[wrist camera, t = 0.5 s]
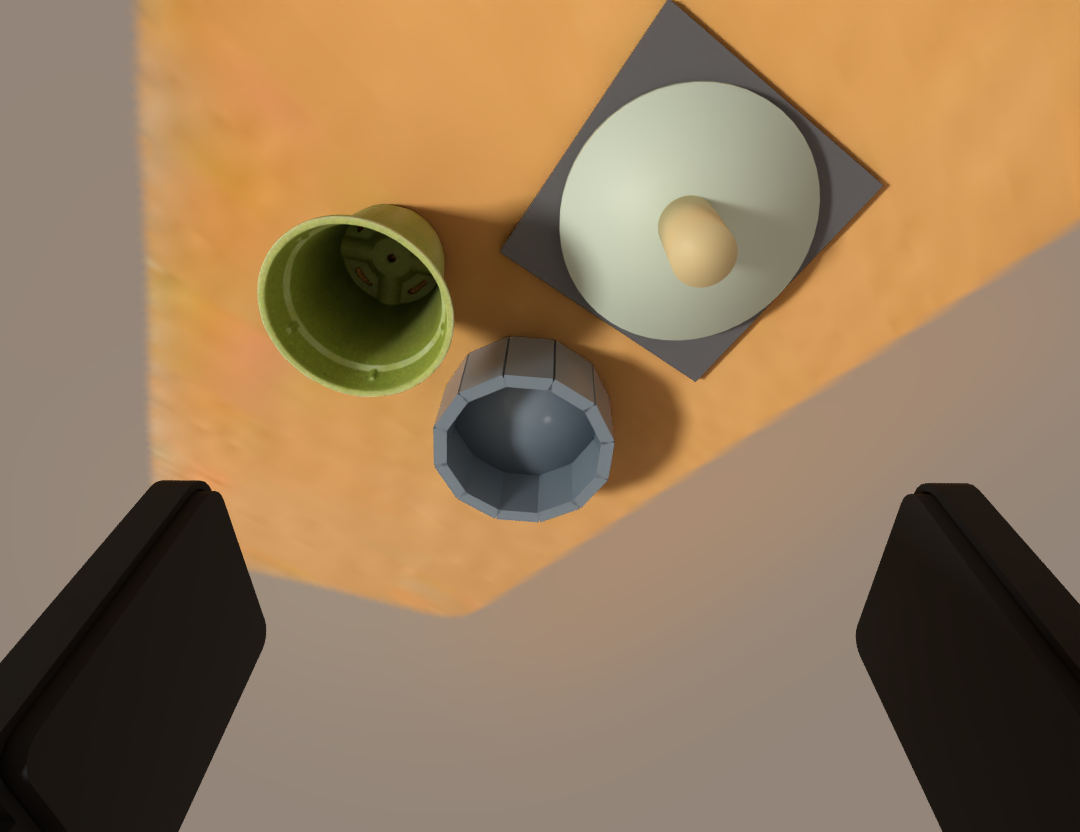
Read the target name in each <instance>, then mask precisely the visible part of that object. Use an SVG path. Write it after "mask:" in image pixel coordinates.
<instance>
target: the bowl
mask: <svg viewBox="0 0 1080 832" xmlns="http://www.w3.org/2000/svg"><path fill="white" fill-rule="evenodd" d="M433 434H434V465H435V468H436V469H437V471H438V472H439V474H440V475H441V477H442V478H443V479H444V481H445V482H446V484H447V485H448V487H449V488H450V489H451V491H452V492H453V494H454V495H455V497H456V498H458V497H459V498H458V500H460V501H462V502H464V503H466V504H468V505H470V506H472V507H474V508H476V509H477V510H479V511H481V512H483V513H485V514H487V515H489V516H491V517H493V518H495V517H496V516H497V519H503V520H516V521H528V522H539V520H540V522H542V521H545V520H548V519H551V518H554V517H557V516H560V515H563V514H566V513H569V512H572V511H575V510H578V509H580V508H579V507H581V508H582V507H583V506H584V504H585V503H586V502H587V501H588V500H589V499H590V498H591V497H592V496H593V495H594V494H595V493H596V492H597V491H598V490H599V489H600V488H601V487H602V486H603V485H604V484H605V483H606V482H607V481H608V480H607V479H608V478H609V472H610V467H611V461H612V455H613V449H614V443H615V442H614V433H613V424H612V415H611V406H610V398H609V396H608V394H607V392H606V390H605V388H604V386H603V384H602V382H601V380H600V378H599V375H598V373H597V371H596V369H595V367H594V365H592V363H591V362H590V361H588V360H586V359H585V358H583V357H582V356H580V355H579V354H577V353H575V352H574V351H572V350H571V349H569V348H568V347H566V346H564V345H563V344H561V343H560V342H558V341H557V340H556V341H555V343H554V340H552V339H540V338H528V337H516V336H510V339H509V337H505V338H503V339H501V340H498V341H496V342H494V343H491V344H489V345H487V346H484V347H482V348H480V349H477V350H475V351H473V352H470V353H469V354H468V355H467V356H466V358H465V359H464V360H463V362H462V363H461V365H460V366H459V368H458V369H457V370H456V372H455V373H454V375H453V376H452V377H451V379H450V380H449V382H448V383H447V385H446V388H445V391H444V394H443V398H442V401H441V405H440V408H439V411H438V415H437V418H436V421H435V425H434V428H433Z"/></svg>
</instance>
